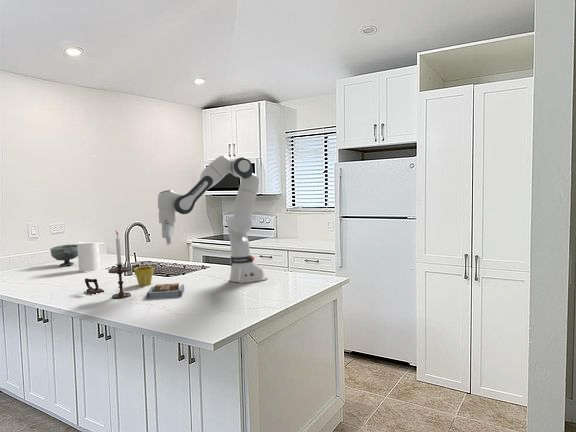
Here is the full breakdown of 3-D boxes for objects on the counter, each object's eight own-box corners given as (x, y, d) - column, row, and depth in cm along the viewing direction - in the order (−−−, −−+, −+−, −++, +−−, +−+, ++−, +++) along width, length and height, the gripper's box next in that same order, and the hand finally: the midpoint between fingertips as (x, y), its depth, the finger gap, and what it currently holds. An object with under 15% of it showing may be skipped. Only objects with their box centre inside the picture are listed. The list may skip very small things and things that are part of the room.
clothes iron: (93, 296, 221) (87, 278, 220) (82, 298, 227) (76, 281, 227) (105, 291, 226) (99, 274, 226) (94, 294, 233) (88, 277, 232)
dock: (184, 290, 224) (184, 284, 224) (181, 296, 210) (181, 290, 210) (151, 292, 222) (151, 286, 222) (146, 299, 208) (146, 293, 208)
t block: (179, 290, 224) (178, 283, 223) (176, 296, 212) (175, 288, 212) (156, 292, 222) (155, 284, 222) (151, 297, 210) (151, 290, 210)
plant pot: (148, 286, 235) (147, 269, 234) (131, 286, 237) (130, 269, 236) (157, 282, 245) (156, 266, 244) (141, 282, 247) (140, 266, 246)
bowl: (46, 268, 308) (44, 248, 307) (64, 263, 327) (62, 244, 326) (69, 268, 305) (68, 247, 304) (86, 263, 324) (85, 244, 323)
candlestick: (106, 299, 211) (101, 231, 208) (117, 293, 221) (113, 228, 219) (125, 299, 209) (121, 230, 207) (136, 293, 220) (132, 228, 217)
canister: (94, 271, 286) (92, 243, 285) (75, 272, 287) (73, 244, 285) (103, 268, 300) (101, 240, 298) (85, 268, 300) (83, 241, 299)
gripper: (170, 220, 220) (172, 246, 221) (175, 217, 240) (176, 241, 241) (158, 221, 219) (160, 247, 220) (164, 218, 239) (165, 242, 240)
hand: (168, 244), depth 230 cm, fingers closed
